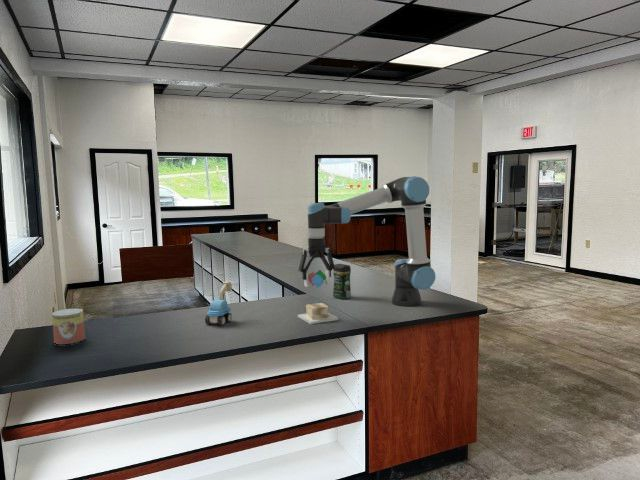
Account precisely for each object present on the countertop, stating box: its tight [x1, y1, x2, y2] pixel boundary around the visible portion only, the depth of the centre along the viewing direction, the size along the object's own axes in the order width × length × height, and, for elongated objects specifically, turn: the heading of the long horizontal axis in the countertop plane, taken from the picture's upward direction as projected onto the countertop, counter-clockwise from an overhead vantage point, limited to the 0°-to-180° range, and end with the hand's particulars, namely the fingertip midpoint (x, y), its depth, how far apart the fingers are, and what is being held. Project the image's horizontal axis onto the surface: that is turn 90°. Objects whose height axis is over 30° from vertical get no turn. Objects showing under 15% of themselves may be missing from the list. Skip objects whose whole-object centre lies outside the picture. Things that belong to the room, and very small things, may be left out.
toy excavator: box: [204, 281, 233, 326], centre depth 218 cm, size 9×17×17 cm, turn 161°
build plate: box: [297, 312, 339, 325], centre depth 221 cm, size 14×14×1 cm
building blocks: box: [308, 269, 325, 289], centre depth 220 cm, size 8×8×12 cm
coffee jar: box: [332, 263, 352, 300], centre depth 260 cm, size 10×8×19 cm
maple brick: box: [305, 302, 330, 319], centre depth 221 cm, size 8×8×5 cm
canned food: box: [51, 307, 86, 345], centre depth 193 cm, size 11×11×12 cm
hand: (317, 285), depth 220 cm, fingers closed on building blocks, 10 cm apart
